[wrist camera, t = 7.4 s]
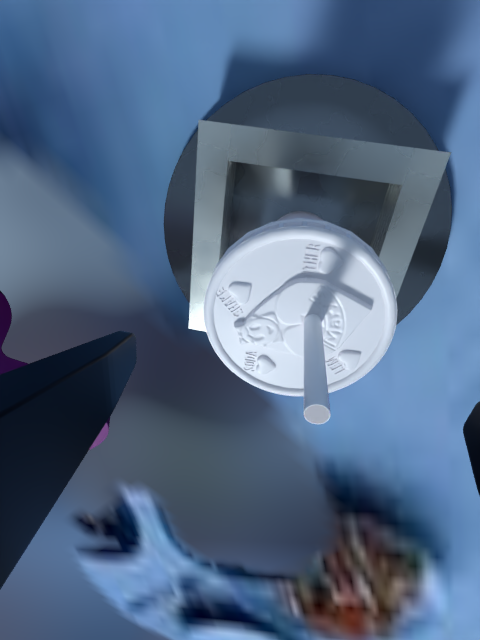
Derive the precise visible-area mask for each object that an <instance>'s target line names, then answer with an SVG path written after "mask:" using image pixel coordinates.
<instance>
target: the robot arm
mask: <svg viewBox="0 0 480 640" xmlns="http://www.w3.org/2000/svg"><path fill="white" fill-rule="evenodd" d="M136 358H137V357H136V337H135V335H134V334H133V333H129V332H124V331H118V332H115V333H112V334H109V335H107V336H104V337H102V338H99V339H96V340H93V341H91V342H88V343H85V344H82V345H80V346H77V347H74V348H71V349H69V350H66V351H63V352H61V353H58V354H55V355H52V356H49V357H47V358H44V359H41V360H39V361H36V362H33V363H30V364H27V365H25V366H22V367H19V368H17V369H14V370H11V371H8V372H6V373H3V374H0V589H1V588H2V586H3V584H4V583H5V581H6V580H7V578H8V577H9V575H10V573H11V572H12V570H13V569H14V567H15V565H16V564H17V562H18V561H19V559H20V558H21V556H22V555H23V553H24V551H25V550H26V548H27V547H28V545H29V544H30V542H31V540H32V539H33V537H34V536H35V534H36V532H37V531H38V529H39V528H40V526H41V525H42V523H43V521H44V520H45V518H46V517H47V515H48V514H49V512H50V510H51V509H52V507H53V506H54V504H55V503H56V501H57V499H58V498H59V496H60V495H61V493H62V492H63V490H64V488H65V487H66V485H67V484H68V482H69V480H70V479H71V477H72V476H73V474H74V473H75V471H76V469H77V468H78V466H79V465H80V463H81V461H82V460H83V458H84V457H85V455H86V454H87V452H88V450H89V449H90V447H91V446H92V444H93V443H94V441H95V439H96V438H97V436H98V435H99V433H100V432H101V430H102V428H103V427H104V425H105V424H106V422H107V421H108V419H109V417H110V416H111V414H112V412H113V410H114V408H115V406H116V404H117V402H118V400H119V398H120V396H121V394H122V392H123V390H124V388H125V386H126V384H127V382H128V380H129V377H130V375H131V373H132V371H133V369H134V367H135V364H136ZM463 433H464V438H465V442H466V446H467V450H468V454H469V458H470V462H471V466H472V470H473V474H474V478H475V482H476V485H477V489H478V492H479V495H480V402H478V403H477V404H476V405H475V407H474V409H473V410H472V412H471V414H470V415H469V417H468V419H467V420H466V422H465V424H464V427H463Z"/></svg>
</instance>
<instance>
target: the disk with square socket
mask: <svg viewBox="0 0 480 640" xmlns="http://www.w3.org/2000/svg"><path fill="white" fill-rule="evenodd" d="M450 154H451V153H450V152H443V151H438V149H437V147H436V145H435V144H434V142H433V140H432V139H431V137H430V136H429V134H428V132H427V131H426V129H425V128H424V127H423V126H422V125H421V123H420V122H419V121H418V120H417V119H416V118H415V117H414V115H413V114H412V113H411V112H410V111H408V110H407V109H406V108H405V107H404V106H402V105H401V104H400V103H399V102H398V101H396V100H395V99H394V98H392V97H390V96H389V95H387V94H385V93H383V92H382V91H380V90H378V89H376V88H375V87H372V86H370V85H367V84H364V83H362V82H359V81H356V80H353V79H349V78H344V77H338V76H333V75H316V74H306V75H298V76H290V77H284V78H280V79H277V80H273V81H269V82H266V83H263V84H261V85H258V86H256V87H254V88H252V89H250V90H247V91H245V92H243V93H241V94H240V95H238V96H237V97H235V98H234V99H232V100H231V101H229V102H227V103H226V104H224V105H223V106H222V107H221V108H220V109H219V110H217V111H216V112H215V113H214V114H213V115H212V116H210V117H209V118H208V119H207V120H206V121H204V120H199V123H198V131H197V132H196V133H195V134H194V136H193V137H192V139H191V140H190V142H189V143H188V145H187V146H186V148H185V149H184V151H183V153H182V155H181V157H180V159H179V161H178V163H177V165H176V167H175V169H174V172H173V175H172V178H171V181H170V184H169V188H168V193H167V198H166V203H165V213H164V234H165V243H166V249H167V254H168V259H169V262H170V265H171V268H172V271H173V274H174V276H175V278H176V281H177V283H178V285H179V287H180V289H181V290H182V292H183V294H184V295H185V297H186V299H187V300H188V302H189V303H190V311H189V329H195V330H200V331H205V332H206V328H205V323H204V309H203V308H204V299H205V294H206V290H207V287H208V284H209V281H210V279H211V277H212V275H213V272H214V269H215V267H216V265H217V264H218V262H219V261H220V259H221V258H222V257H223V255H224V254H225V252H226V251H227V249H228V248H229V247H230V246H232V245H233V244H234V243H235V242H237V241H238V240H239V239H240V238H241V237H243V236H244V235H245V234H246V233H248V232H250V231H252V230H254V229H257V228H259V227H261V226H264V225H266V224H268V223H270V222H274V221H277V220H278V219H279V218H281V217H282V216H284V215H286V214H288V213H291V212H296V211H305V212H310V213H313V214H315V215H317V216H318V217H320V218H321V219H322V220H324V221H327V222H329V223H332V224H334V225H337V226H339V227H342V228H344V229H347V230H349V231H351V232H353V233H354V234H355V235H356V236H358V237H359V238H360V239H361V240H363V241H364V242H365V243H366V244H368V245H369V246H370V247H372V249H373V250H374V252H375V253H376V254H377V256H378V257H379V259H380V260H381V262H382V263H383V265H384V266H385V268H386V270H387V273H388V276H389V278H390V281H391V283H392V285H393V288H394V291H395V295H396V301H397V322H396V325H397V324H398V323H399V322H400V321H401V320H402V319H404V318H405V317H406V316H407V315H408V314H409V313H410V312H411V311H412V310H413V308H414V307H415V306H416V305H417V304H418V303H419V301H420V300H421V299H422V298H423V296H424V295H425V293H426V292H427V290H428V289H429V287H430V286H431V284H432V282H433V280H434V278H435V276H436V274H437V272H438V270H439V268H440V266H441V263H442V260H443V257H444V255H445V252H446V249H447V244H448V239H449V234H450V229H451V214H452V204H451V193H450V185H449V181H448V177H447V173H446V169H445V167H446V165H447V162H448V159H449V157H450Z"/></svg>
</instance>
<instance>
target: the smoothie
mask: <svg viewBox="0 0 480 640" xmlns="http://www.w3.org/2000/svg"><path fill="white" fill-rule="evenodd" d="M203 309H204V323H205V328H206V332H207V335H208V338H209V340H210V343H211V345H212V347H213V348H214V350H215V352H216V354H217V355H218V356H219V358H220V359H221V360H222V361H223V363H224V364H225V365H226V366H227V367H228V368H229V369H230V370H231V371H232V372H234V373H235V374H236V375H237V376H239V377H240V378H241V379H243V380H244V381H246V382H248V383H250V384H251V385H253V386H256V387H258V388H260V389H263V390H265V391H269V392H272V393H276V394H281V395H287V396H304V417H305V419H306V420H307V421H309V422H310V423H313V424H322V423H325V422H327V421H328V420H329V418H330V406H329V396H328V393H330V392H333V391H336V390H339V389H342V388H344V387H346V386H348V385H350V384H352V383H354V382H356V381H357V380H359V379H360V378H362V377H363V376H364V375H366V374H367V373H368V372H369V371H370V370H371V369H372V368H373V367H374V366H375V365H376V364H377V363H378V362H379V361H380V360H381V358H382V357H383V355H384V354H385V352H386V351H387V349H388V347H389V345H390V343H391V341H392V338H393V335H394V332H395V328H396V322H397V301H396V295H395V291H394V288H393V285H392V283H391V281H390V278H389V276H388V273H387V270H386V268H385V266H384V265H383V263H382V262H381V260H380V259H379V257H378V256H377V254H376V253H375V252H374V250H373V249H372V247H370V246H369V245H368V244H366V243H365V242H364V241H363V240H361V239H360V238H359V237H358V236H356V235H355V234H354V233H353V232H351V231H349V230H347V229H344V228H342V227H339V226H337V225H334V224H332V223H329V222H327V221H324V220H322V219H321V218H320V217H318V216H317V215H315V214H313V213H310V212H305V211H296V212H291V213H288V214H286V215H284V216H282V217H281V218H279V219H278V220H277V221H274V222H270V223H268V224H266V225H264V226H261V227H259V228H257V229H254V230H252V231H250V232H248V233H246V234H245V235H244V236H243V237H241V238H240V239H239V240H238V241H237V242H235V243H234V244H233V245H232V246H230V247H229V248H228V249H227V251H226V252H225V254H224V255H223V257H222V258H221V259H220V261H219V262H218V264H217V265H216V267H215V269H214V272H213V275H212V277H211V279H210V281H209V284H208V287H207V290H206V294H205V299H204V308H203Z"/></svg>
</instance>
